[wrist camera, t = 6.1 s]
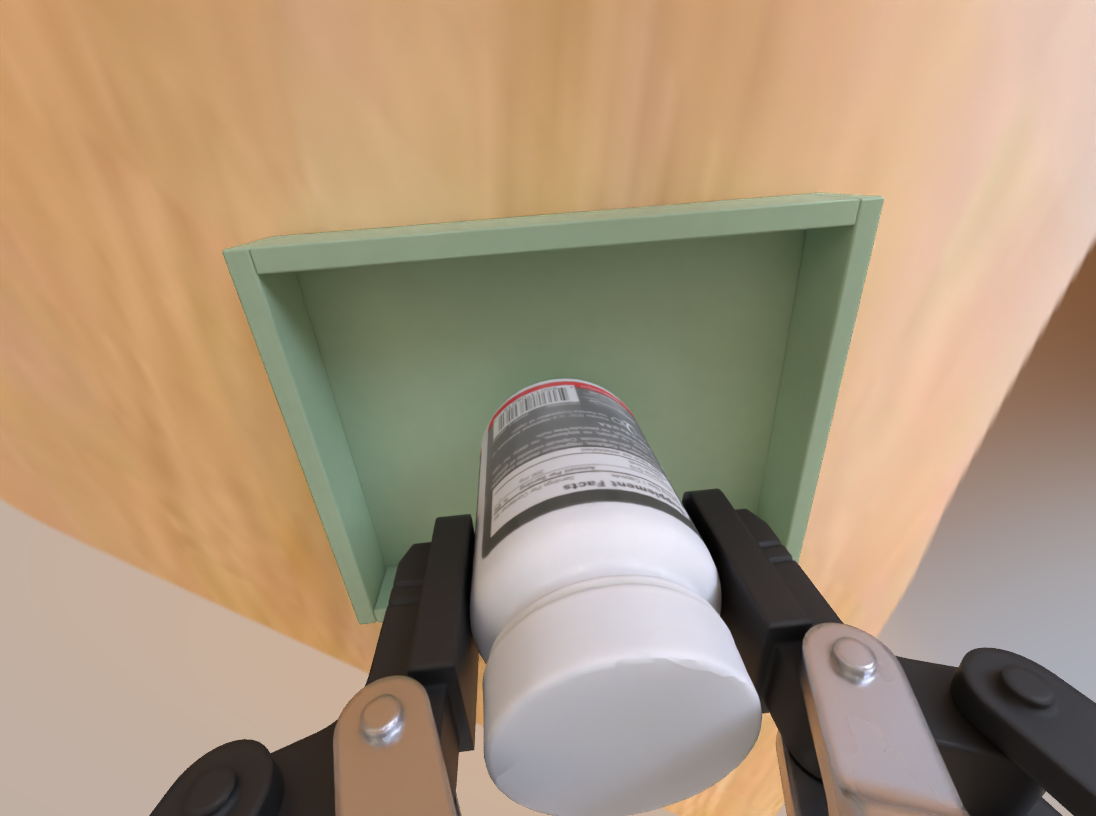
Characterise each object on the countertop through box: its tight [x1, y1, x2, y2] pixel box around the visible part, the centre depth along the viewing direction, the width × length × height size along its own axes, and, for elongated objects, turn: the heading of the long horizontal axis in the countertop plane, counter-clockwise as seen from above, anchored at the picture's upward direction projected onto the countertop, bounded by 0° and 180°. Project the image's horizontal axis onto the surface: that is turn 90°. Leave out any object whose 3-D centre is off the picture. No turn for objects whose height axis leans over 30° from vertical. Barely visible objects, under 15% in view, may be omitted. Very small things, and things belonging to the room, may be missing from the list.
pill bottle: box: [470, 379, 762, 816], centre depth 10 cm, size 5×5×8 cm
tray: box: [223, 193, 884, 624], centre depth 14 cm, size 15×12×2 cm
